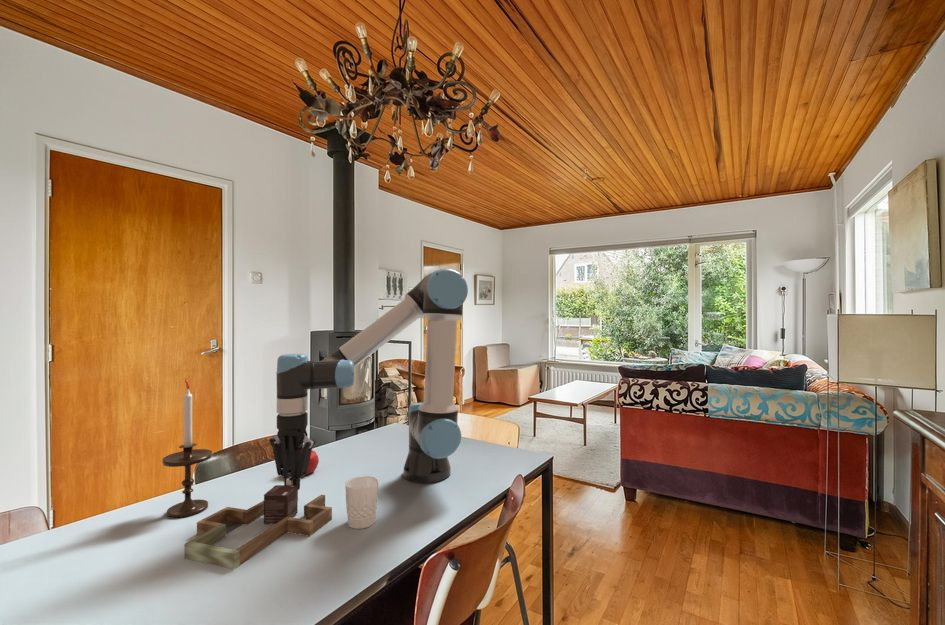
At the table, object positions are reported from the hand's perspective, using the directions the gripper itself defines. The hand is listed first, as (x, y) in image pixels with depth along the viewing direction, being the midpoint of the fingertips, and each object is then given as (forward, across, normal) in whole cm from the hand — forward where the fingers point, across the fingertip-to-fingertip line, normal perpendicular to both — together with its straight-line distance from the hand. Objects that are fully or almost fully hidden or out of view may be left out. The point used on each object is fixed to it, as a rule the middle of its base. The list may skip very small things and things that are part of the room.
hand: (292, 502), depth 110 cm
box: (+2, -1, +5) cm, 5 cm away
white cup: (+2, -21, 0) cm, 21 cm away
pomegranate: (+2, +16, -23) cm, 28 cm away
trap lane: (+2, 0, +10) cm, 10 cm away
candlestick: (+2, +27, +8) cm, 28 cm away
